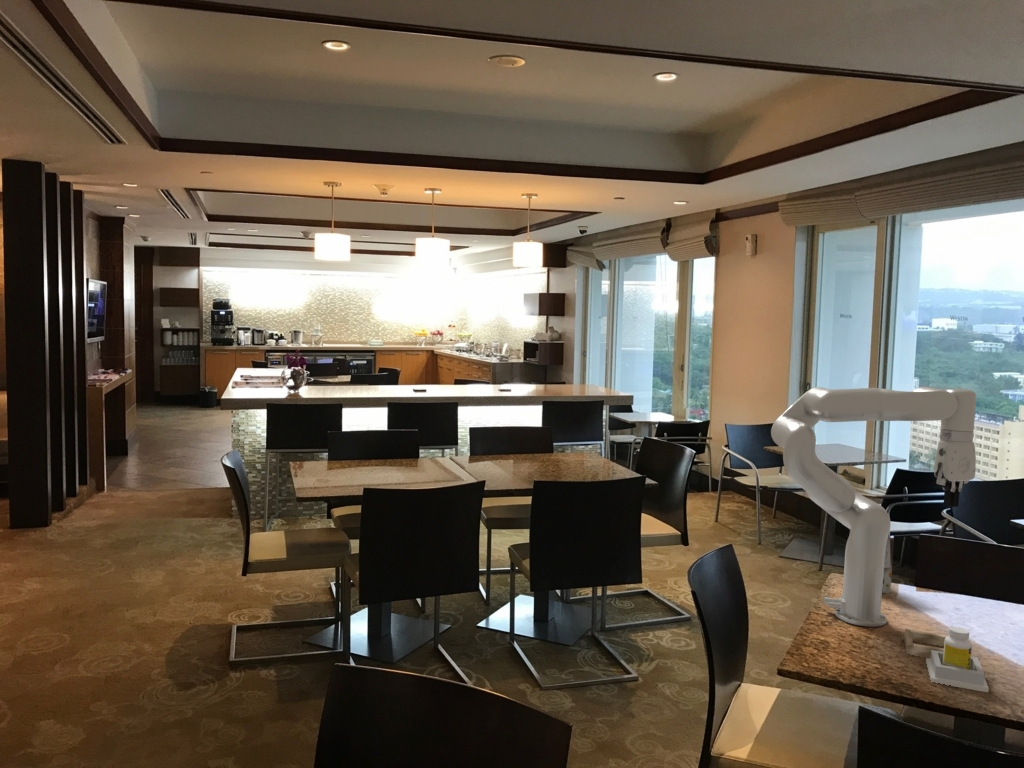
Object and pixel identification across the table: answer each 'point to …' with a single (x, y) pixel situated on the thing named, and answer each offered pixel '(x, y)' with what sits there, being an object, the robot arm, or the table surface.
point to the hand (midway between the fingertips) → (950, 505)
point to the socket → (956, 673)
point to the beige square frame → (923, 638)
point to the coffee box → (888, 565)
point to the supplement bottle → (957, 648)
